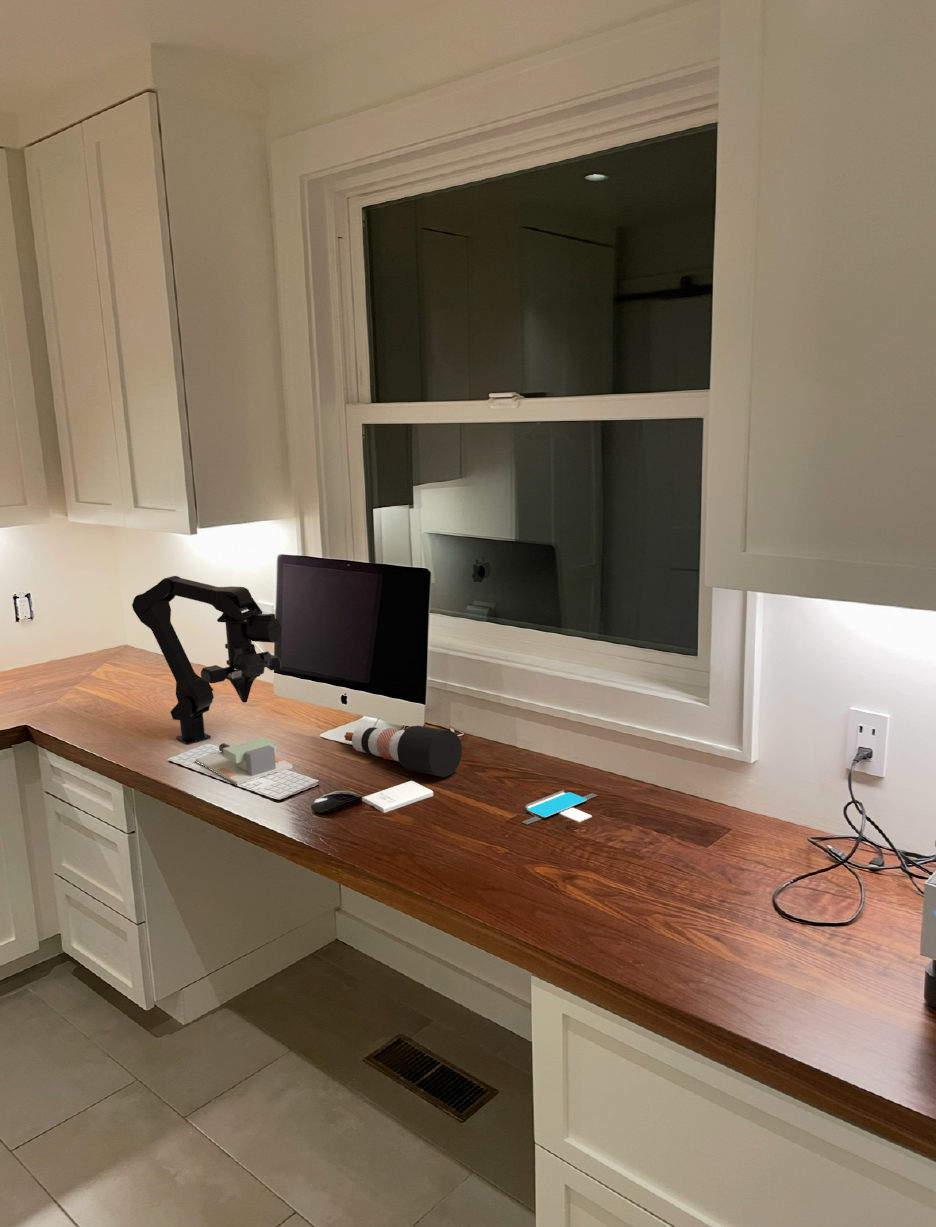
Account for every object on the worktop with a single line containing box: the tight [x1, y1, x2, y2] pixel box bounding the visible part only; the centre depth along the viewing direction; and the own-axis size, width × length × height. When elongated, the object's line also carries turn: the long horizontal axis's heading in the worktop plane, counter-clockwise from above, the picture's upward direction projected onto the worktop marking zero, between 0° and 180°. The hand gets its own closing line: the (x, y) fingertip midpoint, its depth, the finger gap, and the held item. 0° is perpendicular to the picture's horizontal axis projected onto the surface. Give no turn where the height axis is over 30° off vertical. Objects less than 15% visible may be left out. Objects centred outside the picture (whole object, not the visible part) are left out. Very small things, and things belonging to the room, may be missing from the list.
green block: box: [223, 736, 277, 770], centre depth 211 cm, size 6×10×4 cm, turn 132°
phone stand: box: [522, 789, 598, 825], centre depth 184 cm, size 20×12×2 cm, turn 130°
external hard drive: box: [361, 780, 434, 814], centre depth 193 cm, size 2×8×12 cm
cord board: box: [195, 742, 293, 785], centre depth 214 cm, size 20×14×6 cm
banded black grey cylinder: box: [344, 725, 463, 778], centre depth 213 cm, size 10×34×10 cm, turn 46°
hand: (244, 702), depth 226 cm, fingers closed
